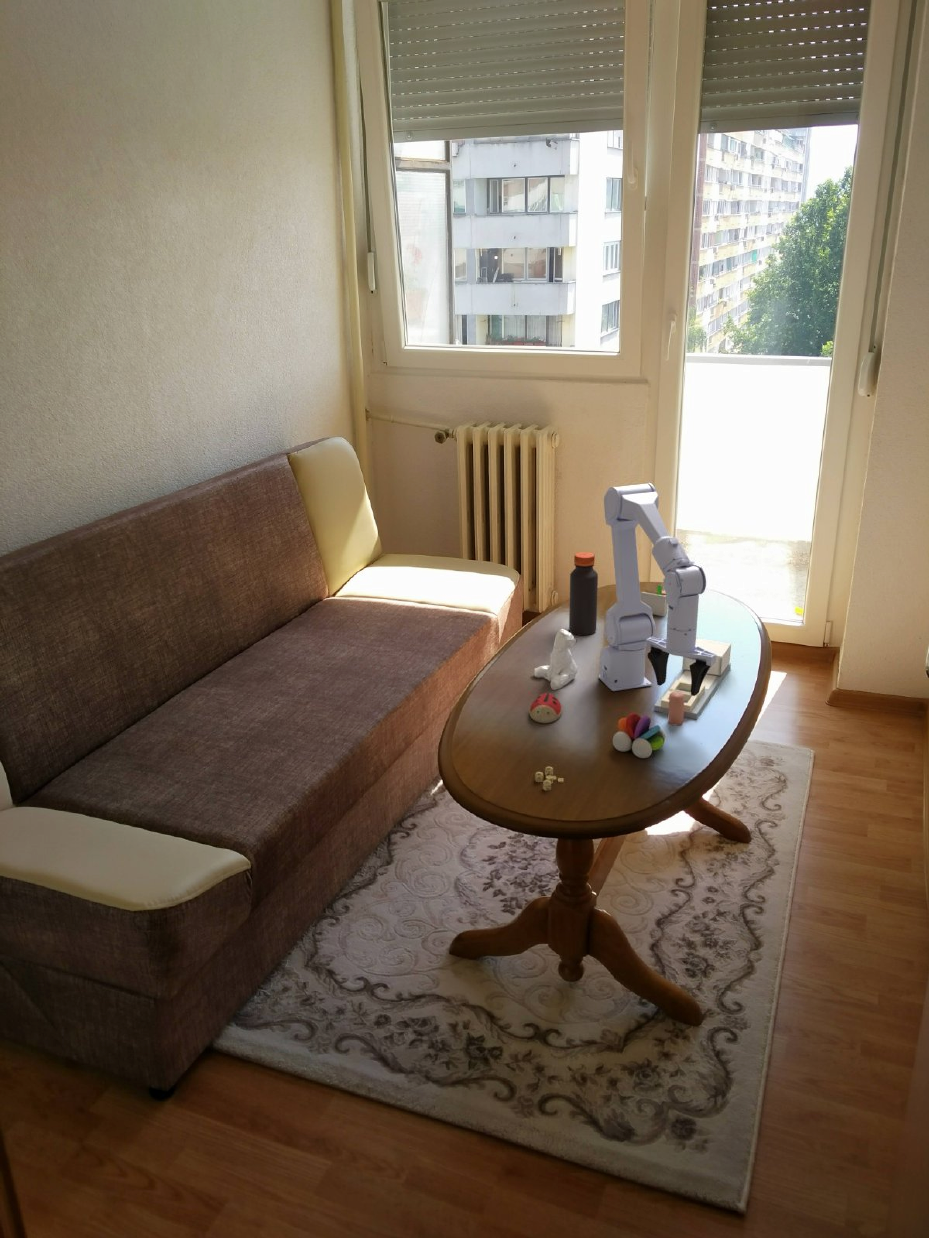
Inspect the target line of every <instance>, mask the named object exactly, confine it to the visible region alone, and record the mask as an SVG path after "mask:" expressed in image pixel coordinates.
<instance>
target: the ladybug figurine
mask: <svg viewBox="0 0 929 1238" xmlns="http://www.w3.org/2000/svg"><path fill="white" fill-rule="evenodd" d="M562 712H563V706H562V704H561V702H560V700H559V699H558V698H557V697H556V696H555V694H552V693H548V692H546V693H545V692H544V693H541V694H540V695H538V696H537V697H535V699H534V700H533V701H532V703H531V705H530V707H529V713H528V714H529V716H530V718H531V719H532V720H533V721H534V722H537V723H538V724H549V723H552V722H554V721H556V720H558V719H559V718H560V717H561V715H562Z"/></svg>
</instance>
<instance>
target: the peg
mask: <svg viewBox="0 0 929 1238" xmlns="http://www.w3.org/2000/svg"><path fill="white" fill-rule="evenodd" d="M684 699H685V695H684V694H683V693H680V692H672V693H670V695H669V713H667V714H668V717H667V718H668V719H667V720H668V721H667V723H669V724H670V725H672V726H681V725H683V723H684V718H685V717H684Z"/></svg>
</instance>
